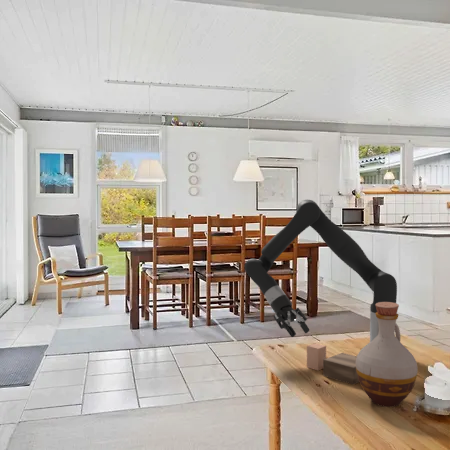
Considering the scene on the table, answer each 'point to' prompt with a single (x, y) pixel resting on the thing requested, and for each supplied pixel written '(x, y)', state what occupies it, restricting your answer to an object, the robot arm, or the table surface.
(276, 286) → the robot arm
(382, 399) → the jug
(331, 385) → the table surface
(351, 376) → the walnut block
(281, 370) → the table surface
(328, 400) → the table surface
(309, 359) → the terracotta block
